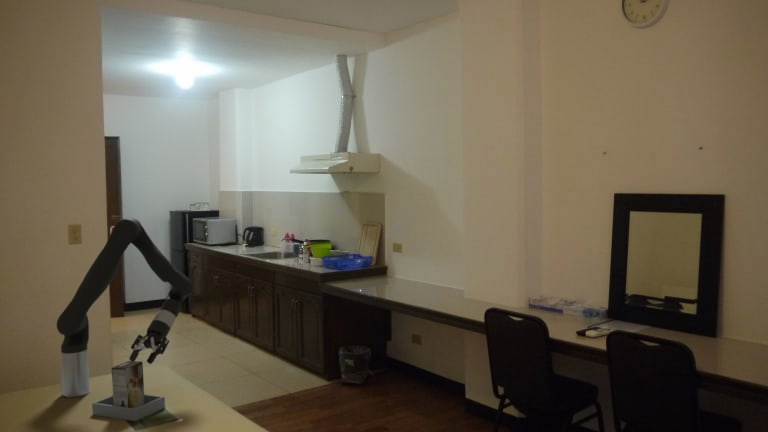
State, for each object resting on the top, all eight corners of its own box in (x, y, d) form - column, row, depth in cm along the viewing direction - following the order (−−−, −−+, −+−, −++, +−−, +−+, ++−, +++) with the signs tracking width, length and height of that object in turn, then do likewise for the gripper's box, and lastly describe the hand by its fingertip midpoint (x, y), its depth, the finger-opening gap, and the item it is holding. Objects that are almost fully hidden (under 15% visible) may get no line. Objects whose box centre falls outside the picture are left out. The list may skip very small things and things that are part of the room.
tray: (92, 414, 216) (92, 403, 216) (123, 401, 229) (123, 391, 229) (135, 421, 208) (134, 409, 208) (164, 407, 221) (164, 396, 221)
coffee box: (130, 403, 224) (128, 360, 223) (145, 404, 222) (143, 361, 222) (113, 412, 215) (111, 367, 214) (128, 413, 213) (126, 368, 213)
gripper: (142, 317, 234) (119, 355, 224) (170, 320, 228) (149, 358, 218) (153, 328, 239) (131, 365, 229) (181, 331, 233) (160, 368, 223)
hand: (140, 361), depth 223 cm, fingers open, 8 cm apart
